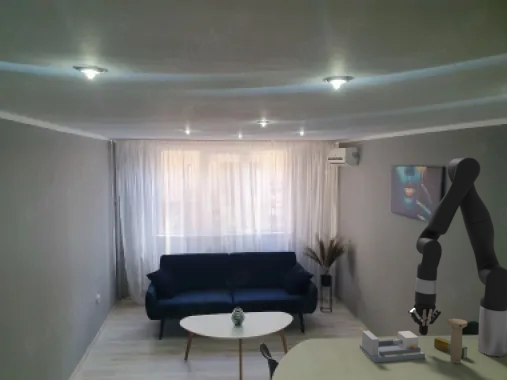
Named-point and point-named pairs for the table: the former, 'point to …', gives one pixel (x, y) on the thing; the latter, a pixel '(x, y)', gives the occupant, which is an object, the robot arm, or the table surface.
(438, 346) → the medication box
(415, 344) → the plunger
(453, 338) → the handle
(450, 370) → the table surface
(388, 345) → the gauge bed
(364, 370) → the table surface
